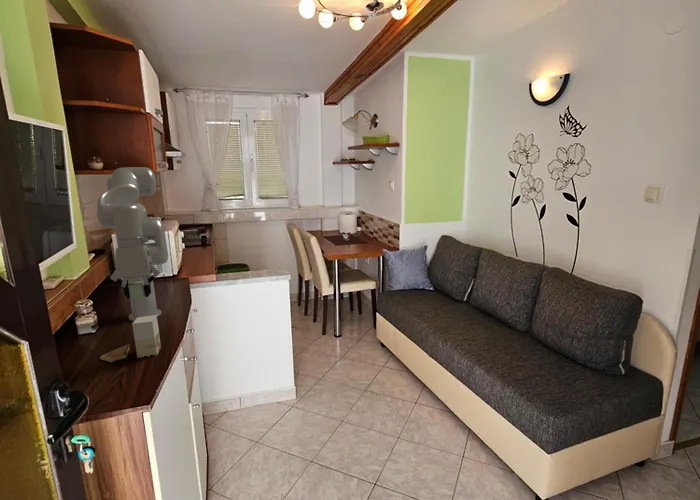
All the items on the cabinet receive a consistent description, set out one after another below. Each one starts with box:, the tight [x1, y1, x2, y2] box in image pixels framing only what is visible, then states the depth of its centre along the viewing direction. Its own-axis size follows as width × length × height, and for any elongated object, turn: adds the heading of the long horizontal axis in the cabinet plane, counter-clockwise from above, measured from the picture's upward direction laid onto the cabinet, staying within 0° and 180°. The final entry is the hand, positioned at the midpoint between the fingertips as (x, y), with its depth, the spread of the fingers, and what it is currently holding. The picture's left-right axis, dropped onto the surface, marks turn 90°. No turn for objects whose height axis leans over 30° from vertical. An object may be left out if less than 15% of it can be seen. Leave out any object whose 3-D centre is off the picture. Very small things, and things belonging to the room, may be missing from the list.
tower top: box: [132, 315, 160, 342], centre depth 128 cm, size 6×6×6 cm
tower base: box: [134, 331, 162, 358], centre depth 129 cm, size 6×6×6 cm
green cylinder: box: [128, 282, 147, 301], centre depth 126 cm, size 5×5×5 cm
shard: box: [99, 343, 131, 363], centre depth 129 cm, size 11×8×2 cm
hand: (138, 296), depth 127 cm, fingers closed on green cylinder, 4 cm apart
